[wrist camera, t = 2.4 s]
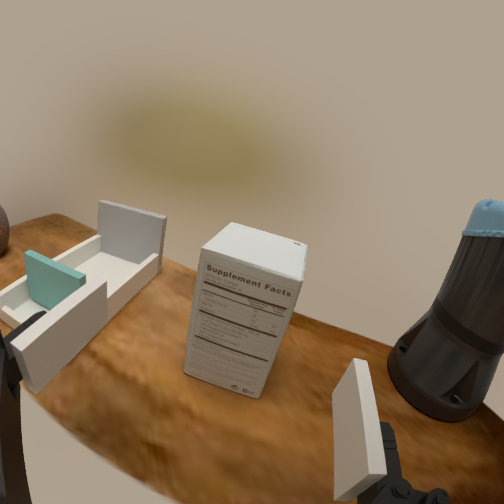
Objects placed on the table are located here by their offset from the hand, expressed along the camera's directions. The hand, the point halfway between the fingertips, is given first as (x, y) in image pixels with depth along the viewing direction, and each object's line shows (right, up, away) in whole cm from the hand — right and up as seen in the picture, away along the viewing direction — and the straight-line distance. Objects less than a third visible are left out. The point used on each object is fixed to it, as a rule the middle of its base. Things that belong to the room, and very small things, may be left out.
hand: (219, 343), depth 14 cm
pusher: (-19, -1, +11) cm, 22 cm away
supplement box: (-1, -7, +13) cm, 15 cm away
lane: (-18, 0, +17) cm, 25 cm away
